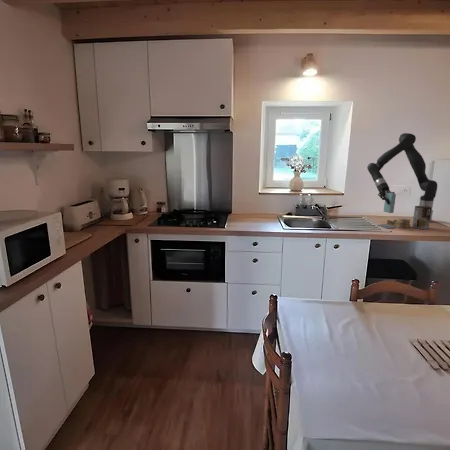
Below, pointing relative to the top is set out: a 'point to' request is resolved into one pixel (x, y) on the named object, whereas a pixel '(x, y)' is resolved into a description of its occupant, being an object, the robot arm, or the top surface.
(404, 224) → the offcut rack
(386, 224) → the slate mat
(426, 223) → the coffee box
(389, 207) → the pale teal pillar
